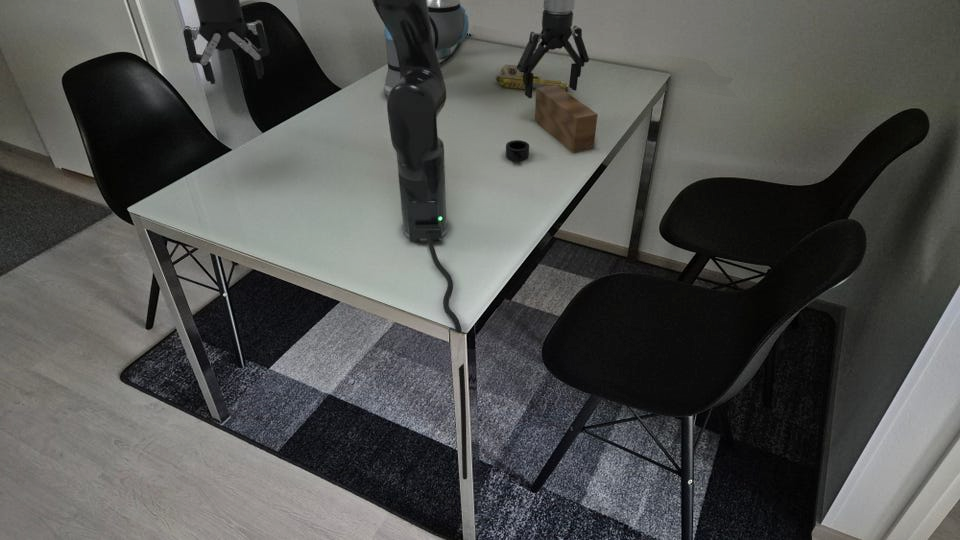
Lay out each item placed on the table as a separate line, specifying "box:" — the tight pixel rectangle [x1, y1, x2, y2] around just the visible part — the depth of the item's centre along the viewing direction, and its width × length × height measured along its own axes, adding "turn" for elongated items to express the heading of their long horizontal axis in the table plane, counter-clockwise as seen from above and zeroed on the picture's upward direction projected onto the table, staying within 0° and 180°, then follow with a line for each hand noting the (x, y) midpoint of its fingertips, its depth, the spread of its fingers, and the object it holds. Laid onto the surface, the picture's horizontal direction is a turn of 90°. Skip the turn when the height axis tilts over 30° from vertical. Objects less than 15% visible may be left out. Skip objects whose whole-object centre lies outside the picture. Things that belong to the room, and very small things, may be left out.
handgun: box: [495, 64, 569, 93], centre depth 196 cm, size 2×23×15 cm
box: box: [534, 84, 598, 154], centre depth 165 cm, size 21×6×10 cm, turn 24°
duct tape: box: [505, 139, 530, 163], centre depth 157 cm, size 8×10×3 cm
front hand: (236, 80), depth 121 cm, fingers open, 8 cm apart
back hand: (550, 92), depth 168 cm, fingers open, 13 cm apart
